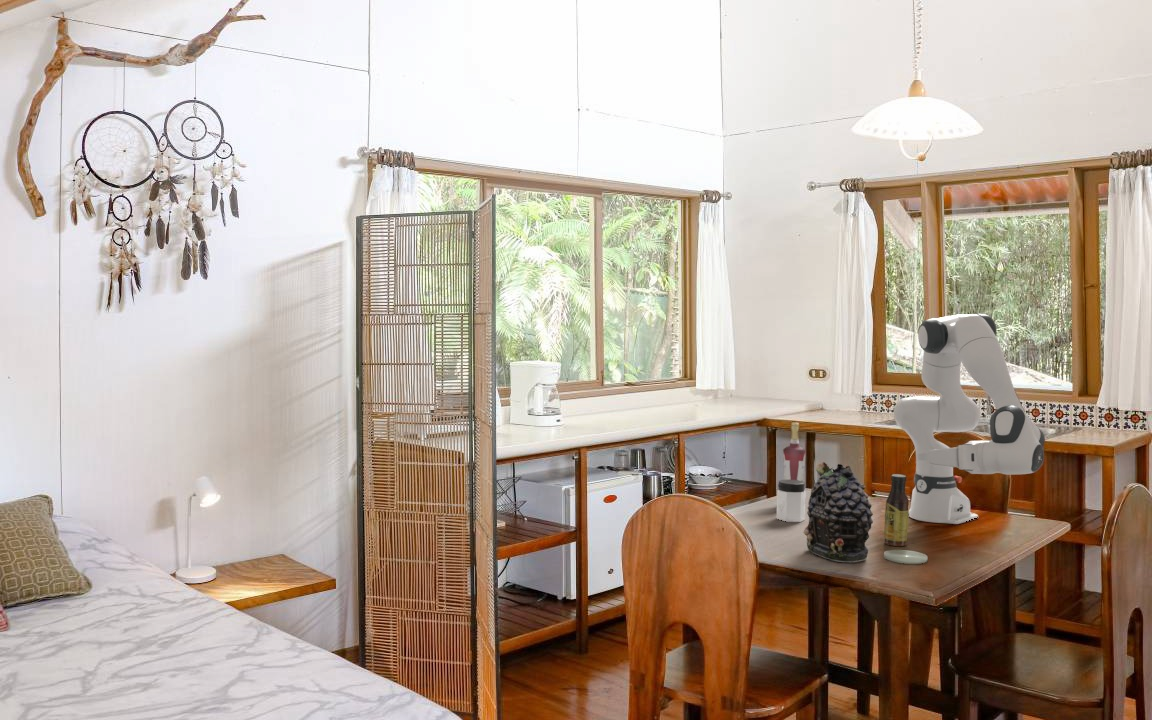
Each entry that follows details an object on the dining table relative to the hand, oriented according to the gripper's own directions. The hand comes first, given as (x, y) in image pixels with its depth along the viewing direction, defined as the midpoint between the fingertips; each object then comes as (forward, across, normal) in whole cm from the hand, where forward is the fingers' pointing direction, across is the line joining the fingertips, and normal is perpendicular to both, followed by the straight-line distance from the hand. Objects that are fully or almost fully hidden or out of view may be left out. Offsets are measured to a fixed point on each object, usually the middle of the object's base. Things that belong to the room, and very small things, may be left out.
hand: (926, 456), depth 265 cm
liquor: (+59, -27, +17) cm, 67 cm away
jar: (+48, -8, +20) cm, 53 cm away
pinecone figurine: (+16, +22, +27) cm, 38 cm away
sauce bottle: (+10, -2, +25) cm, 27 cm away
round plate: (+2, +11, +27) cm, 29 cm away
